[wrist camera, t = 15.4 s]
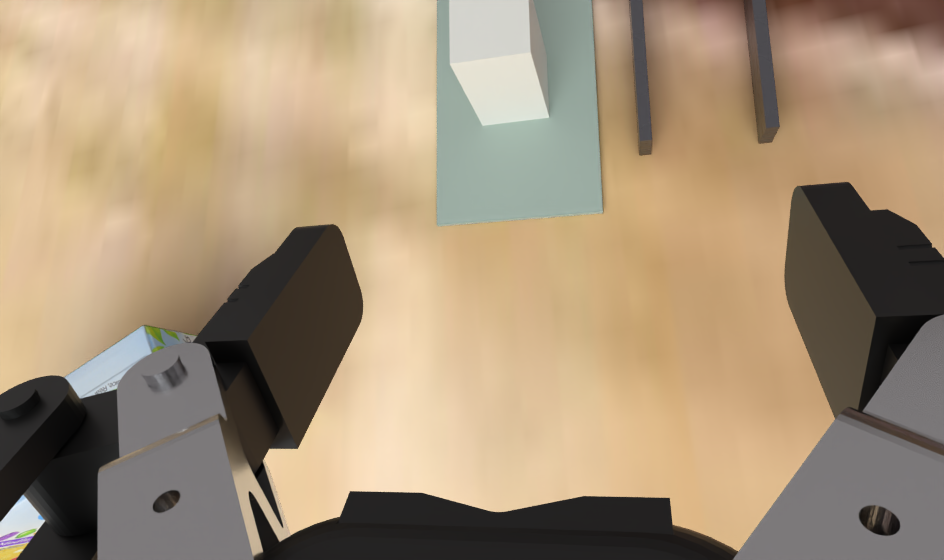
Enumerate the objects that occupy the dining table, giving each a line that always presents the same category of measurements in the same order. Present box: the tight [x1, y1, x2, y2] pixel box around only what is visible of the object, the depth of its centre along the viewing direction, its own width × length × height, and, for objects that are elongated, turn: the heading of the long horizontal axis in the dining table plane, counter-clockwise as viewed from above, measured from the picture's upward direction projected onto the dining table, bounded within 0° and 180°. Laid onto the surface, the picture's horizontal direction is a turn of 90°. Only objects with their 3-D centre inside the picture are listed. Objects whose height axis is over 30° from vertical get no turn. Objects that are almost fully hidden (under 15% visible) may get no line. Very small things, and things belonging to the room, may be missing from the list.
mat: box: [437, 0, 603, 226], centre depth 48 cm, size 12×20×1 cm, turn 1°
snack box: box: [0, 325, 197, 560], centre depth 42 cm, size 21×6×15 cm, turn 120°
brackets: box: [629, 0, 780, 155], centre depth 44 cm, size 9×12×2 cm
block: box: [449, 0, 549, 126], centre depth 44 cm, size 5×5×9 cm
